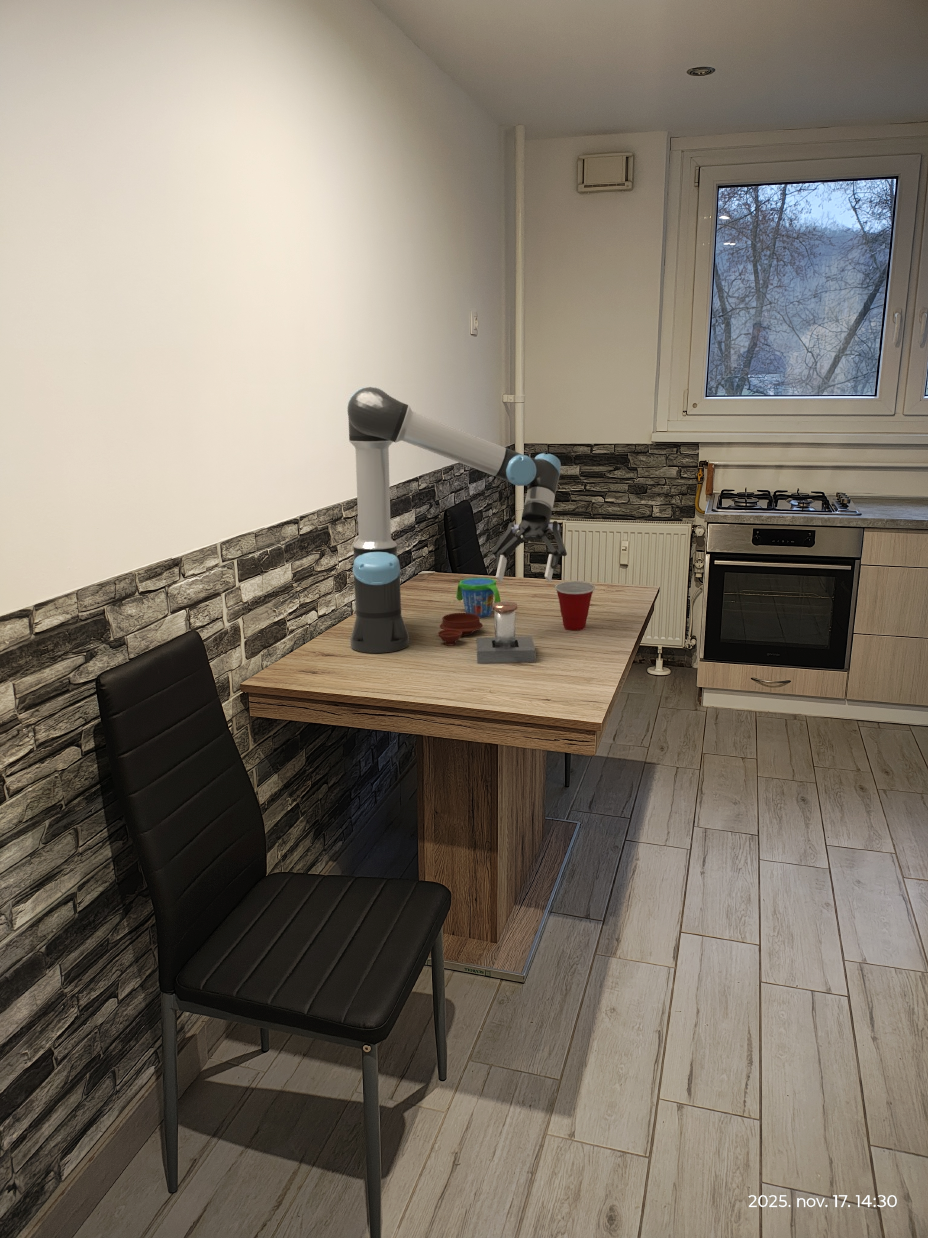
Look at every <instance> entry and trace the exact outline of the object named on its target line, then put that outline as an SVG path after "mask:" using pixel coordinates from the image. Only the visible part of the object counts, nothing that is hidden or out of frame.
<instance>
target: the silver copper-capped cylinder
mask: <svg viewBox="0 0 928 1238" xmlns="http://www.w3.org/2000/svg"><path fill="white" fill-rule="evenodd" d="M517 609H518V603H517V602H513V601H501V602H496V603H494V602H493V606H492V611H493V610H494V637H495V648H504V647H515V637H516V610H517Z"/></svg>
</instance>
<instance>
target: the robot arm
mask: <svg viewBox="0 0 928 1238" xmlns="http://www.w3.org/2000/svg"><path fill="white" fill-rule="evenodd" d="M346 409H347V417H348V438H349V439H348V440H349V443H350V444H351V445H352V446H353V447H354V448H355V468H356V470H355V472H356V496H357V497H356V499H357V523H358V524H357V525H358V539H357V540H356V541H355V542H354V543H353V551H352V552H353V566H352V573H353V580H354V581H353V582H354V583H353V585H354V603H355V621H354V625H353V629H352V632H351V636H350V648H351V649H352V650H355V651H356V652H359V653H369V654H382V653H392V652H397V651H400V650H403V649H405V648H407V647H408V646H409V645H410V636H409V633H408V630H407V627H406V624H405V622H404V618H403V615H402V602H401V601H402V600H401V599H402V598H401V574H400V573H401V565H400V560H399V558H398V546H397V545H398V543H396V542H395V541H394V540H393V538H392V537H391V536H392V530H391V529H392V527H391V496H390V495H391V492H390V485H391V484H390V459H389V458H390V454H389V453H390V452H389V451H390V450H389V447H390V446H391V445H392V444H393V443H398V442H401V441H402V442H404V443H408V444H410V445H413V446H416V447H418V448H420V449H423V450H426V451H428V452H431V453H432V454H433V453H434V454H437V455H439V456H441V457H443V458H447V459H450V460H452V461H455V462H458V463H460V464H462V465H465V466H468V467H471V468H473V469H476V470H478V471H481V472H484V473H486V474H488V475H491V476H494V477H496V478H499V479H501V480H504V481H506V482H508V483H511V484H512V485H514V486H517V487H520V486H526V487H527V491H526V492H527V493H526V496H525V501H524V505H523V510H522V514H521V519H520V520H521V522H520V523H519V524H514V523H513V522H510V523H508V526H507V529H506V530H505V531H504V533H503V535H502V536H501V538H500V539H499V540H498V541H497V543H496V544H495V545H494V547H493V548H492V550H491V553H492V555H493V556H494V557H495V558H496V562H495V568H496V569H497V570H496V575H495V578H496V580H497V581H498V582H499V583H502V582H503V580H504V576H505V572H506V566H507V561H508V560H507V557H508V556H509V555H510V554H511V553H512V552H514V550H516V549H517V548H518V547H519V546H520V545H521V544H524V542H526V541H527V542H532V541H534V542H535V541H537V542H538V541H540V540H542V541H543V542H544V544H545V545H546V547H547V548H548V549H549V551H550V552H551V553H549V554H548V558H547V563H546V568H545V572H544V578H545V579H546V581H547V582H548V583H551V582H552V577H553V573H554V570H556V569H557V568H558V564H559V563H558V562H559V559H560V557H566V556H567V555H568V553H567V550H566V547H565V545H564V541H563V539H562V535H561V526H560V524H559V523H558V521H557V520H553V521H552V522H551V517H552V512H553V511H552V510H553V509H554V503H555V498H556V497H555V496H556V494H557V493H556V492H557V489H558V485H559V480H560V477H561V470H562V469H561V466H562V464H561V460H560V459H559V458H558V457H557V456H556V455H553V454H551V453H547V454H546V453H544V452H543V453H539V454H537V455H536V456H535V457H530V456H529V455H527V454H522V453H520V452H518V451H515V450H512V449H510V448H508V447H504V446H502V445H500V444H497V443H494V442H492V441H490V440H486V439H484V438H482V437H478V436H477V435H474V434H472V433H469V432H468V431H467V432H466V431H464V430H462V429H459V428H456V427H453V426H451V425H449V424H445V423H443V422H441V421H439V420H436V419H433V418H432V417H431V418H430V417H428V416H426V415H423V414H422V413H417V412H416V411H413V410H412V408H411V406H410V405H409V404H407V403H404V402H402V401H399V400H398V399H396V398H394V397H392V396H391V395H390V394H388V393H387V392H385V391H384V390H383V389H381V388H379V387H378V388H377V387H373V386H372V387H371V386H367V387H366V386H365V387H362V388H360V389H358V390H356V391H355V392H354V393H353V394H352V395H351V397H350V399H349V400H348V402H347V408H346ZM550 530H551V532H552V533H553V535H554V539H555V541H556V544H557V547H558V549H556V548H555V546H554V545H553V543H552V542H551V541H550V539H549V538H548V537H547V536H546V534H547V533H548V532H549V531H550Z"/></svg>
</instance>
